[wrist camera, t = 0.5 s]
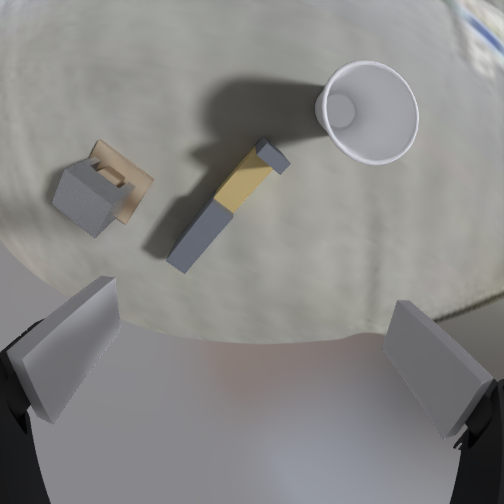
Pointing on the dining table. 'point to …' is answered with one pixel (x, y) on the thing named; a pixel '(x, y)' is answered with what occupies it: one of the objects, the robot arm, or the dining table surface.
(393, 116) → the cup
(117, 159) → the tan tabbed plate
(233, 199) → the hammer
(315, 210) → the dining table surface
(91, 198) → the grey block
